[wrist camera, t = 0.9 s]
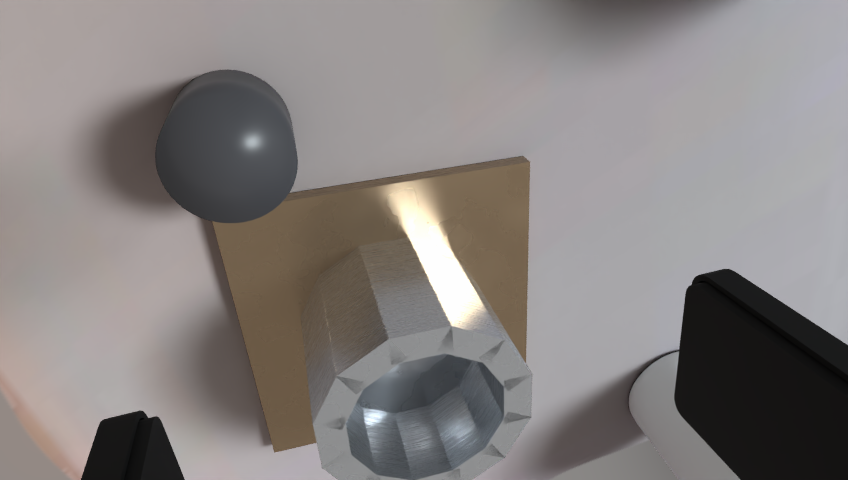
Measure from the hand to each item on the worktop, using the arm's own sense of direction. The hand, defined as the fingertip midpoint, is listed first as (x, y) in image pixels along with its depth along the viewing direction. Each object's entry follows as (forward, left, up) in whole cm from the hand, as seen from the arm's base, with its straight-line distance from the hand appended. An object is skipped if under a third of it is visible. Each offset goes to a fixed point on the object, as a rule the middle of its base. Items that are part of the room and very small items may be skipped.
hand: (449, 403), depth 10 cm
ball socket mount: (+15, +2, -24) cm, 28 cm away
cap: (+2, -5, -24) cm, 24 cm away
